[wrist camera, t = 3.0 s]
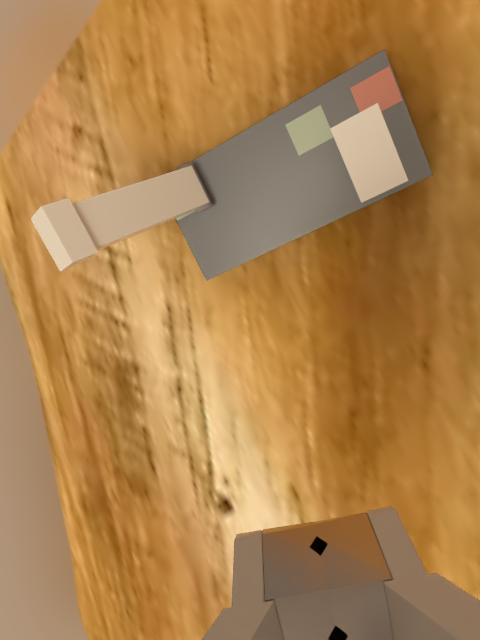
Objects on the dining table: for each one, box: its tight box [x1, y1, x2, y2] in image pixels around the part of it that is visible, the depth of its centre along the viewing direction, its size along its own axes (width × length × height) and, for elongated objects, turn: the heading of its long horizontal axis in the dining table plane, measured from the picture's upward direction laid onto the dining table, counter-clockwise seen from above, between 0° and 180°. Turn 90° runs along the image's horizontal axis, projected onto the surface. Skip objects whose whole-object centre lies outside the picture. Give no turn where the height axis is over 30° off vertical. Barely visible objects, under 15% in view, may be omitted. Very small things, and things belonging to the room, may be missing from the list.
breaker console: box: [175, 49, 433, 281], centre depth 35 cm, size 9×19×3 cm, turn 117°
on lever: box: [31, 162, 213, 272], centre depth 31 cm, size 4×2×13 cm
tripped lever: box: [330, 103, 408, 203], centre depth 26 cm, size 4×2×13 cm, turn 26°
